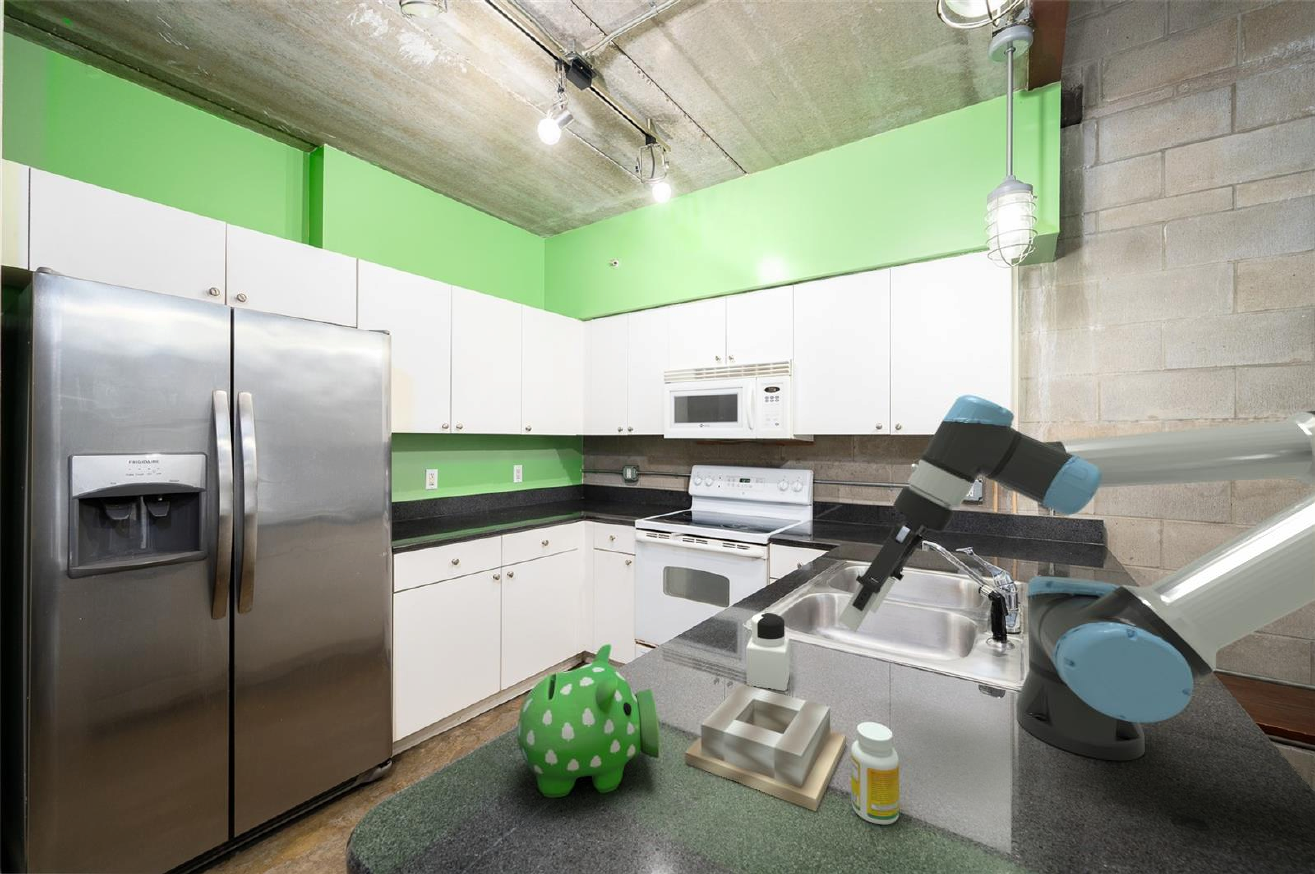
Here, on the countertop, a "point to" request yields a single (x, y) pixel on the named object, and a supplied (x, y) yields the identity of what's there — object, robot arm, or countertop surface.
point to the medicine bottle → (768, 653)
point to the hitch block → (770, 745)
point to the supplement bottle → (875, 774)
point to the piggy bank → (586, 727)
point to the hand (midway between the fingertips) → (857, 616)
